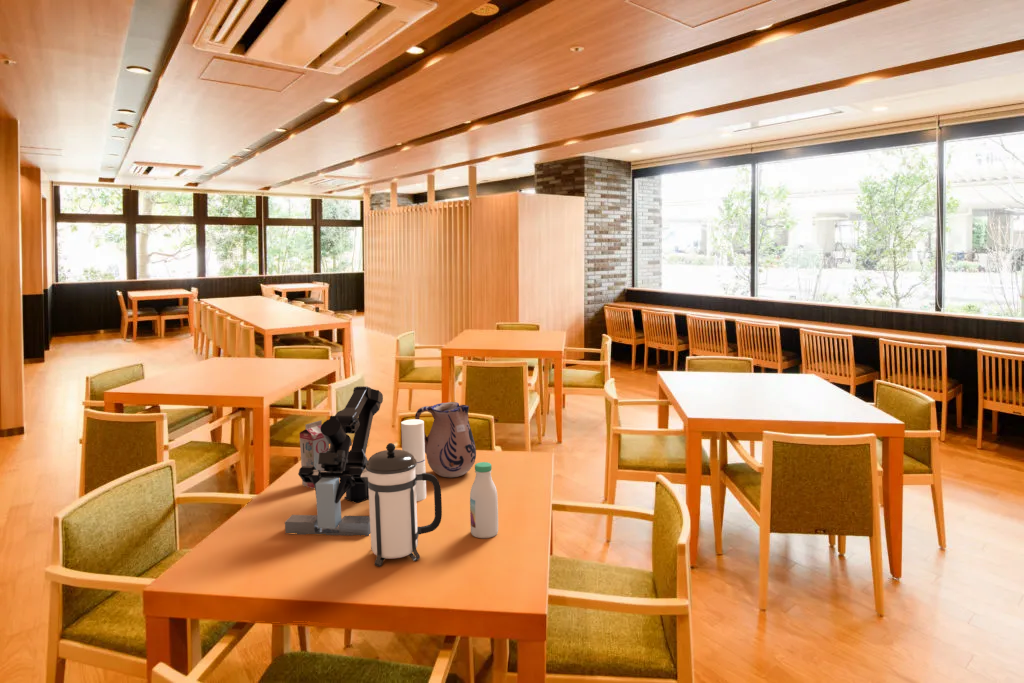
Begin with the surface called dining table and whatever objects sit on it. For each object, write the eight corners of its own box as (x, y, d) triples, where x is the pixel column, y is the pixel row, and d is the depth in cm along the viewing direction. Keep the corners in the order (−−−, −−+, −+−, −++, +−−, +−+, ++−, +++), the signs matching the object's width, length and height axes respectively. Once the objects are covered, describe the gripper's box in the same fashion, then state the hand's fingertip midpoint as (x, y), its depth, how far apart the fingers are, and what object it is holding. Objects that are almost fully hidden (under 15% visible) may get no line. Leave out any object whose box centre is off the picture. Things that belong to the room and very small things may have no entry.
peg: (324, 520, 184) (322, 477, 182) (341, 521, 183) (339, 477, 181) (318, 528, 179) (315, 483, 177) (335, 528, 178) (332, 484, 176)
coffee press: (400, 575, 155) (395, 456, 151) (353, 559, 163) (347, 446, 160) (444, 547, 170) (441, 438, 166) (399, 534, 178) (395, 430, 174)
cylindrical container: (399, 499, 204) (396, 423, 201) (411, 492, 210) (408, 418, 207) (419, 502, 201) (416, 425, 198) (430, 494, 208) (427, 420, 205)
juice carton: (331, 483, 220) (327, 421, 217) (315, 489, 214) (312, 425, 212) (318, 480, 224) (314, 418, 221) (302, 485, 218) (298, 423, 215)
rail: (293, 526, 184) (292, 514, 184) (373, 528, 182) (373, 516, 182) (285, 534, 179) (284, 521, 179) (368, 535, 178) (368, 523, 177)
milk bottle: (502, 529, 181) (501, 461, 178) (492, 540, 173) (491, 469, 171) (477, 525, 183) (475, 458, 180) (466, 537, 176) (464, 467, 173)
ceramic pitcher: (479, 480, 221) (477, 410, 217) (417, 484, 217) (415, 413, 214) (473, 464, 238) (472, 399, 235) (416, 468, 234) (414, 401, 231)
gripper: (298, 439, 182) (284, 490, 173) (362, 439, 181) (351, 491, 171) (311, 457, 191) (298, 506, 182) (371, 457, 190) (362, 507, 180)
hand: (326, 502), depth 179 cm, fingers closed on peg, 5 cm apart
